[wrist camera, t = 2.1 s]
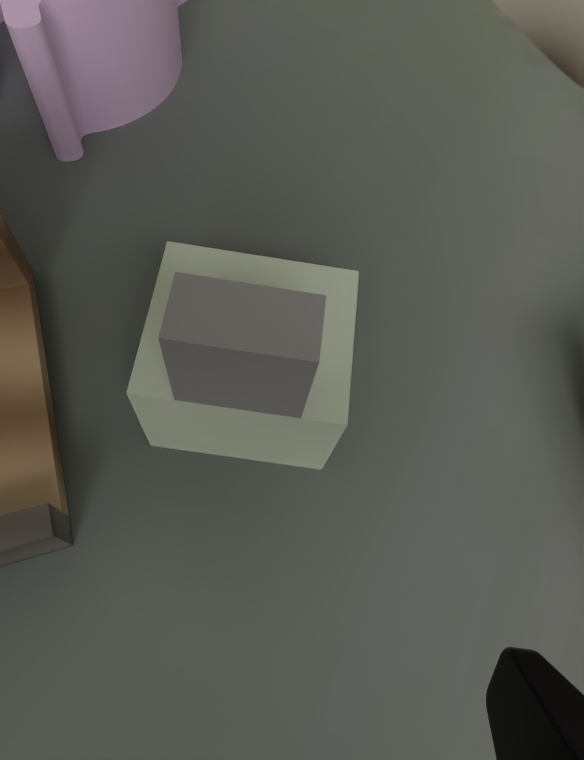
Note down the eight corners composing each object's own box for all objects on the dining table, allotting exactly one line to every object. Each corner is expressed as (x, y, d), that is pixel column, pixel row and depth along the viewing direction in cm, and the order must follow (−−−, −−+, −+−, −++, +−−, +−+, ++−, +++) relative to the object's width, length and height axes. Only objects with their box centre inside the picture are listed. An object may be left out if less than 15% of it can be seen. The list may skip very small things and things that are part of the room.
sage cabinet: (321, 469, 22) (378, 371, 13) (150, 446, 22) (96, 329, 13) (333, 342, 24) (388, 190, 16) (180, 320, 24) (151, 151, 16)
